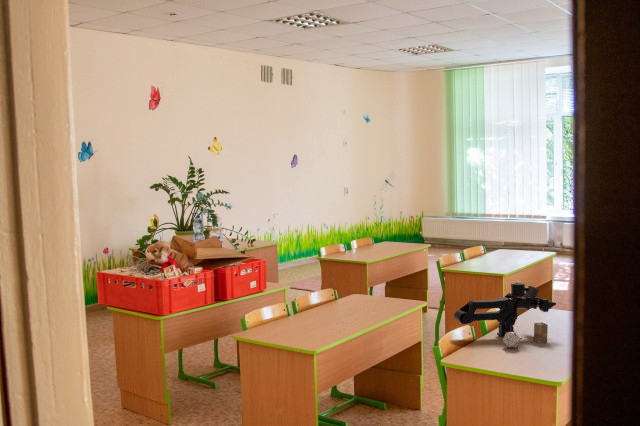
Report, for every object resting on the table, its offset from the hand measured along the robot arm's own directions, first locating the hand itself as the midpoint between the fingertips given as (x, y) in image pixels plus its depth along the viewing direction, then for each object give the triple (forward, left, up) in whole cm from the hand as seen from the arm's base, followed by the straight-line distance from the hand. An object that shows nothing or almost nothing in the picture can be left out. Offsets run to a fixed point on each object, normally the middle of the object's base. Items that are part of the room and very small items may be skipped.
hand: (550, 301), depth 306 cm
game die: (-34, -21, -17) cm, 44 cm away
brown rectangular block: (-14, -14, -17) cm, 26 cm away
